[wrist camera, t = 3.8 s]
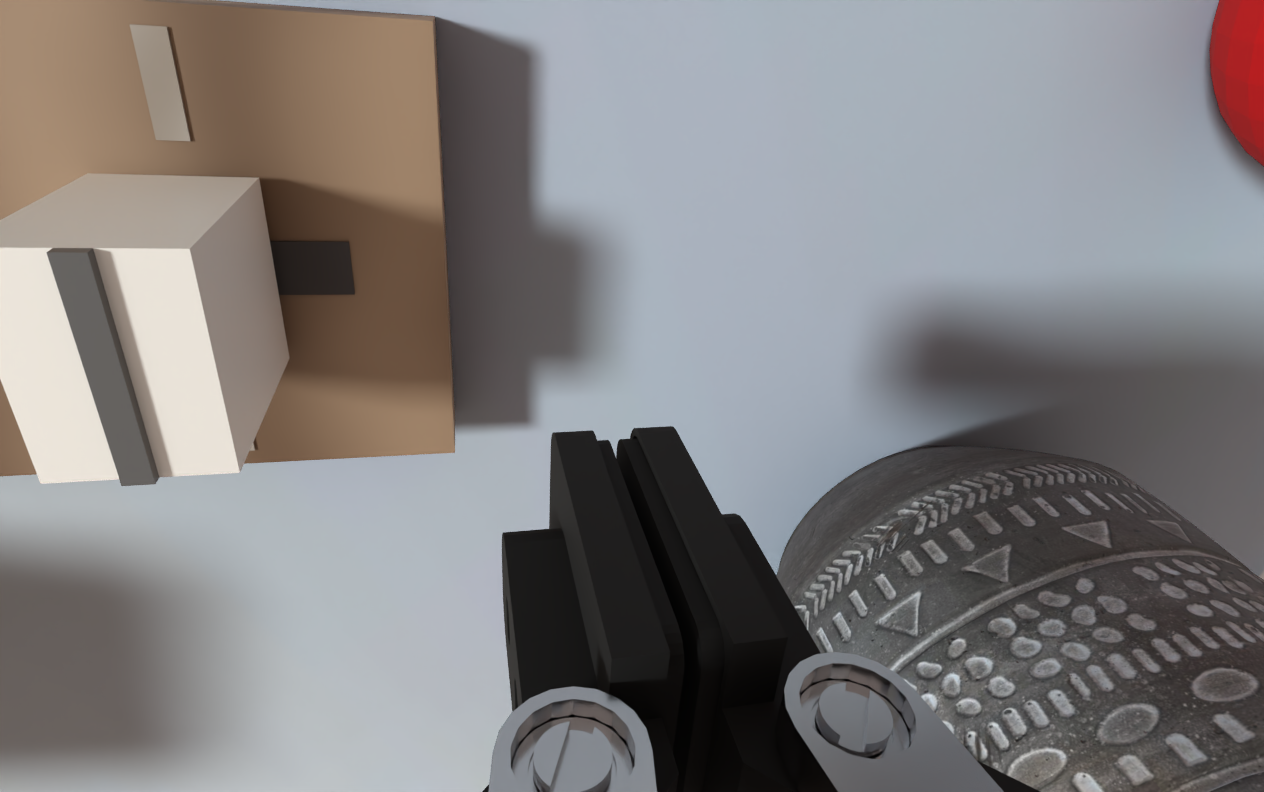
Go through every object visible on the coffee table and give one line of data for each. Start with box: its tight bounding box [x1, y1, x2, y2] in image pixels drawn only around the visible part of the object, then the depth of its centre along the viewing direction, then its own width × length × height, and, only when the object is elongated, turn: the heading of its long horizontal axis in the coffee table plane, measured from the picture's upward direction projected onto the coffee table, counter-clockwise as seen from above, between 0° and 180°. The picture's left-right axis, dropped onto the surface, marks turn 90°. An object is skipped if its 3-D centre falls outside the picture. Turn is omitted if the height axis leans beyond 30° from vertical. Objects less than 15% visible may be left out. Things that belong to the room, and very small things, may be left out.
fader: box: [0, 173, 289, 486], centre depth 13 cm, size 3×4×5 cm
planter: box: [776, 446, 1264, 792], centre depth 21 cm, size 14×14×15 cm
